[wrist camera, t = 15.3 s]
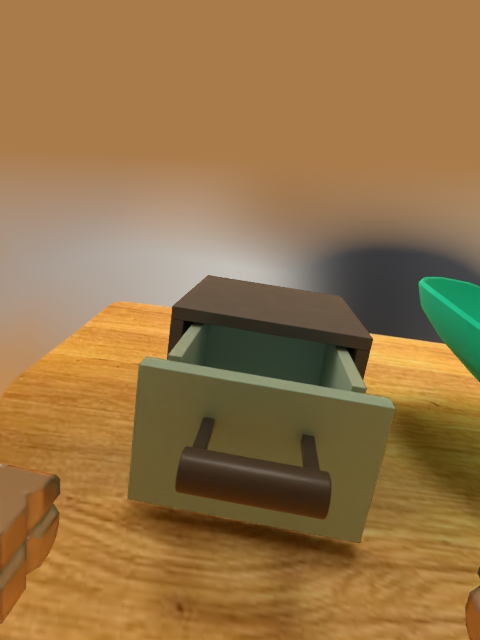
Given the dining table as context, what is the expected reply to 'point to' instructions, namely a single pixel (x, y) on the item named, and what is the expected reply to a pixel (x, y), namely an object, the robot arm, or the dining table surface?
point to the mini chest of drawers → (272, 314)
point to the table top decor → (454, 317)
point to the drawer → (259, 432)
